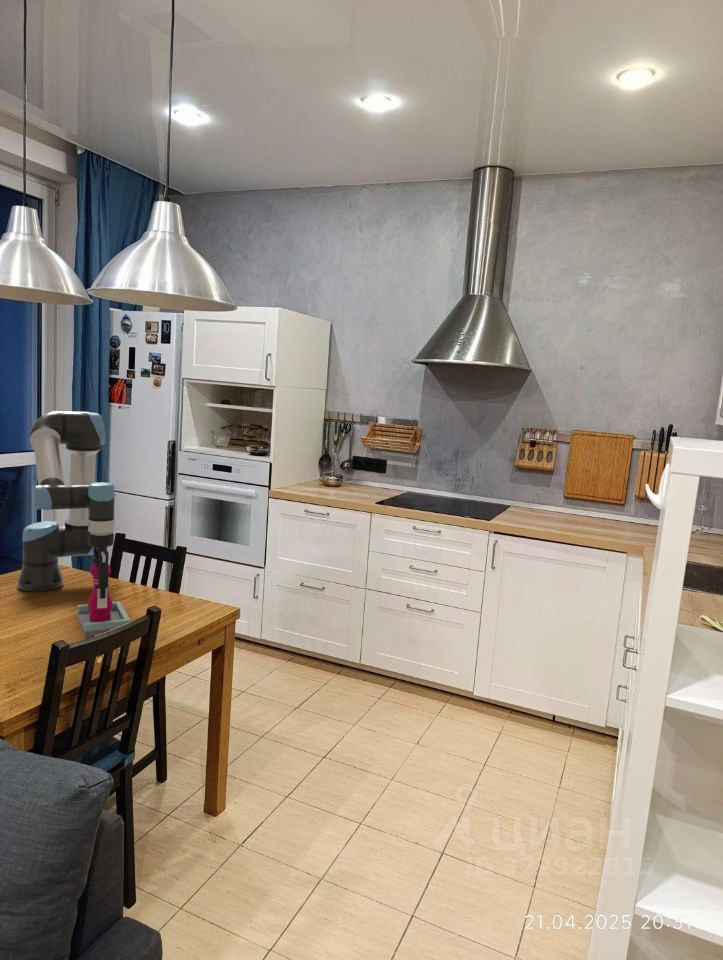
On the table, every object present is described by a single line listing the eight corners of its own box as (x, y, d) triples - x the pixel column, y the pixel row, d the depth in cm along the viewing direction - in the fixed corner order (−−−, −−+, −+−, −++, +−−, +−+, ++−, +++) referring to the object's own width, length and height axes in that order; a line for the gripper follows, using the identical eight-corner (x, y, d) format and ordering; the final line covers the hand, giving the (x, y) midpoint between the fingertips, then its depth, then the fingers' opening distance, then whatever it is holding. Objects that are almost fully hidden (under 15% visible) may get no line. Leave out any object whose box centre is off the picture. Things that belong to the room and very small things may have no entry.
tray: (77, 617, 214) (77, 605, 213) (119, 612, 220) (119, 601, 220) (84, 637, 197) (85, 625, 197) (130, 632, 204) (130, 620, 203)
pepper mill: (87, 623, 204) (88, 561, 201) (87, 615, 210) (88, 554, 207) (112, 621, 206) (113, 559, 204) (111, 614, 213) (112, 554, 210)
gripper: (84, 526, 211) (83, 594, 214) (92, 540, 194) (91, 615, 197) (108, 525, 215) (107, 592, 218) (119, 539, 197) (118, 612, 200)
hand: (100, 603), depth 207 cm, fingers open, 8 cm apart
